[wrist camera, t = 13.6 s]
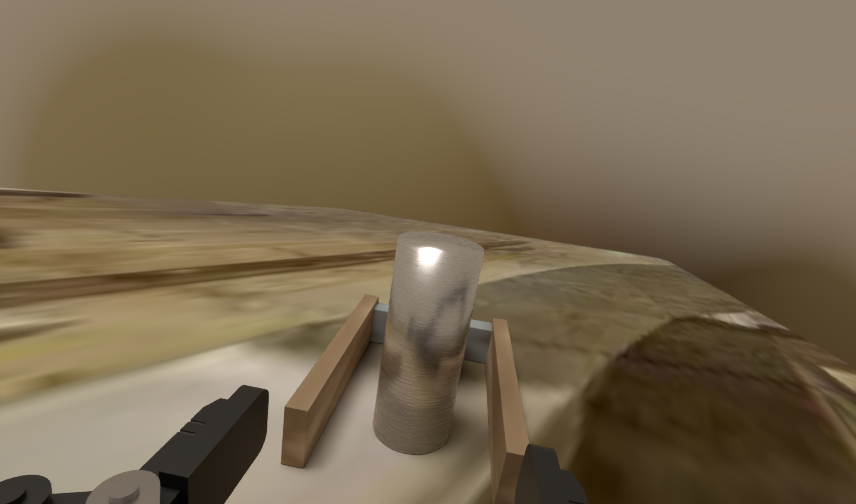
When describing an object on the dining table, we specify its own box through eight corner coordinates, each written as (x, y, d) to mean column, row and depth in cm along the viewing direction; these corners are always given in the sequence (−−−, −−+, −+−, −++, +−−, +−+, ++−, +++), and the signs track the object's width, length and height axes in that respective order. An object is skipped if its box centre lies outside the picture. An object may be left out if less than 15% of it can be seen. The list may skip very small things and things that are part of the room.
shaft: (450, 409, 28) (483, 240, 25) (446, 461, 24) (485, 262, 20) (382, 396, 28) (405, 227, 25) (364, 444, 24) (390, 246, 21)
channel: (498, 356, 36) (506, 320, 35) (516, 513, 21) (531, 457, 20) (361, 330, 37) (365, 294, 36) (281, 463, 22) (284, 406, 21)
